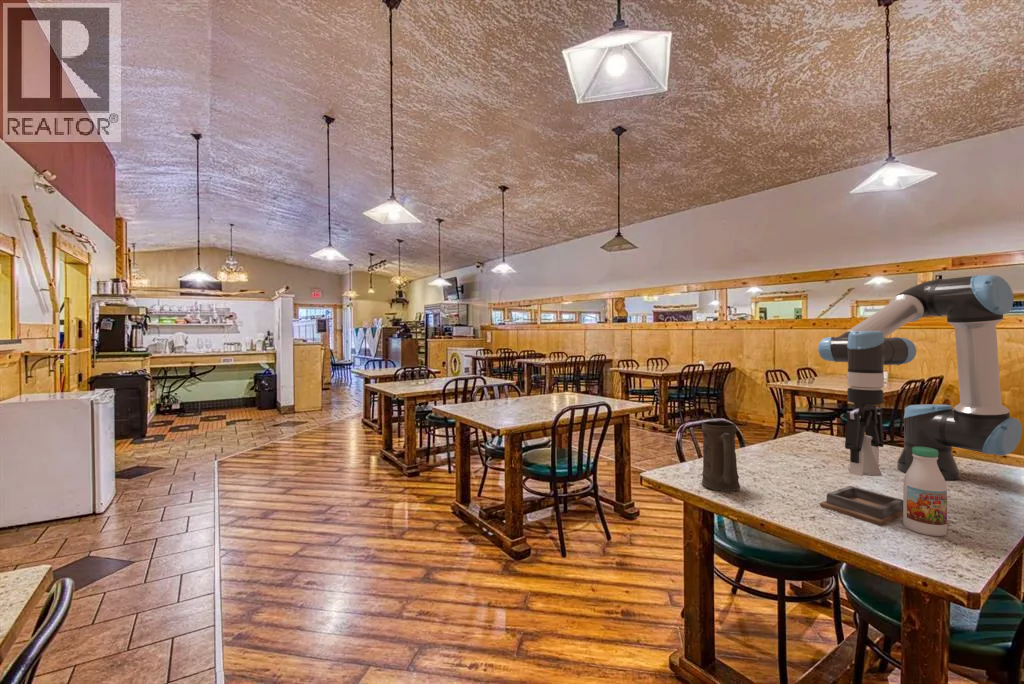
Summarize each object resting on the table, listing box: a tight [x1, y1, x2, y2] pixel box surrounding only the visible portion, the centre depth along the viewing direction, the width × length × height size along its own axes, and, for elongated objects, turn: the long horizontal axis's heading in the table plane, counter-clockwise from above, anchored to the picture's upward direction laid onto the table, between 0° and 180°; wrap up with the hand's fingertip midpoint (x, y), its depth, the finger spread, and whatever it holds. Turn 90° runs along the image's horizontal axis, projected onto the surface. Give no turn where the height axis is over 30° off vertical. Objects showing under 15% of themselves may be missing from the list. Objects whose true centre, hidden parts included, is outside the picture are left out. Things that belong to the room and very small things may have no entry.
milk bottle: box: [902, 446, 948, 537], centre depth 105 cm, size 8×8×20 cm
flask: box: [847, 434, 883, 477], centre depth 117 cm, size 7×7×10 cm
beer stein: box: [701, 421, 741, 492], centre depth 134 cm, size 15×11×20 cm
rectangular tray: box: [819, 485, 903, 527], centre depth 118 cm, size 16×14×4 cm
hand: (864, 471), depth 117 cm, fingers closed on flask, 8 cm apart
